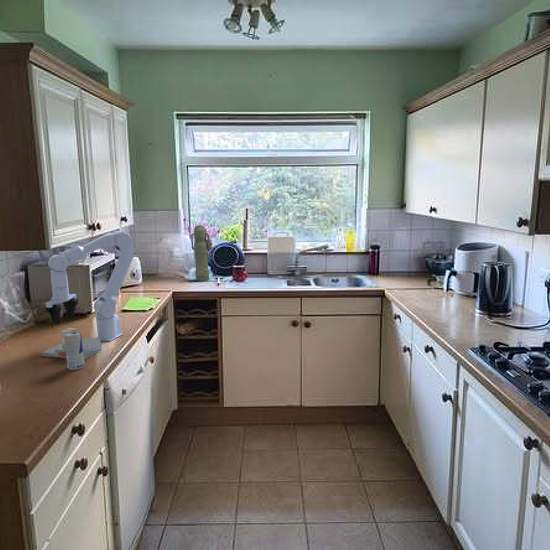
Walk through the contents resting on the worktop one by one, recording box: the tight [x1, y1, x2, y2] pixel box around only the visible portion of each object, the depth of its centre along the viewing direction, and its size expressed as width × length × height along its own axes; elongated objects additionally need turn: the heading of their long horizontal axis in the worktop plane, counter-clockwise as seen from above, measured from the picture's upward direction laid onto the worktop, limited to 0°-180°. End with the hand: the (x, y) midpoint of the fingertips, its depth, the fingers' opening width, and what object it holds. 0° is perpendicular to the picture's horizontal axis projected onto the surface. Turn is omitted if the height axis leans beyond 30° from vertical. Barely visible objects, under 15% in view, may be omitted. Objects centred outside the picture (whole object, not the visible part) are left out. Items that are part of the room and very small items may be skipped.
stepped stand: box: [41, 337, 102, 361], centre depth 179 cm, size 10×18×4 cm, turn 74°
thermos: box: [190, 225, 211, 282], centre depth 311 cm, size 9×12×35 cm
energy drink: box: [64, 331, 85, 371], centre depth 164 cm, size 5×5×12 cm
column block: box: [60, 327, 79, 347], centre depth 179 cm, size 4×4×6 cm
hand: (63, 321), depth 187 cm, fingers open, 7 cm apart
